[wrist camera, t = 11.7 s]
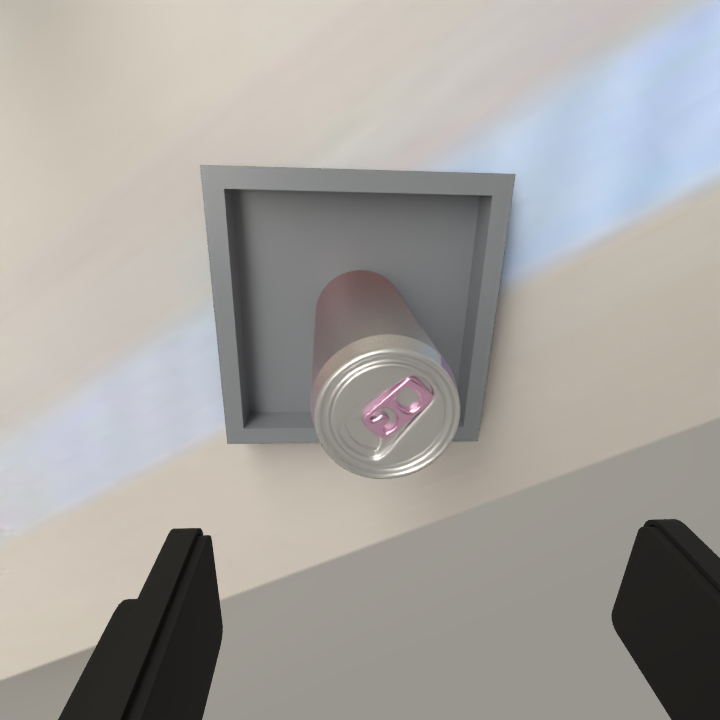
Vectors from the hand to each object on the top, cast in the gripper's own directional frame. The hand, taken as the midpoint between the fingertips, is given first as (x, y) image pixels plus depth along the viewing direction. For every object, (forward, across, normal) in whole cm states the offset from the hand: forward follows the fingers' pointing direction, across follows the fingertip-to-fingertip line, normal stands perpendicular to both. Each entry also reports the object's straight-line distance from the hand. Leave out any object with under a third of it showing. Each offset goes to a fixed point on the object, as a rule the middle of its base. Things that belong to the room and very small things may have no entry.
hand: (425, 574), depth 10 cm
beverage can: (+23, 0, 0) cm, 23 cm away
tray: (+23, 0, 0) cm, 23 cm away
